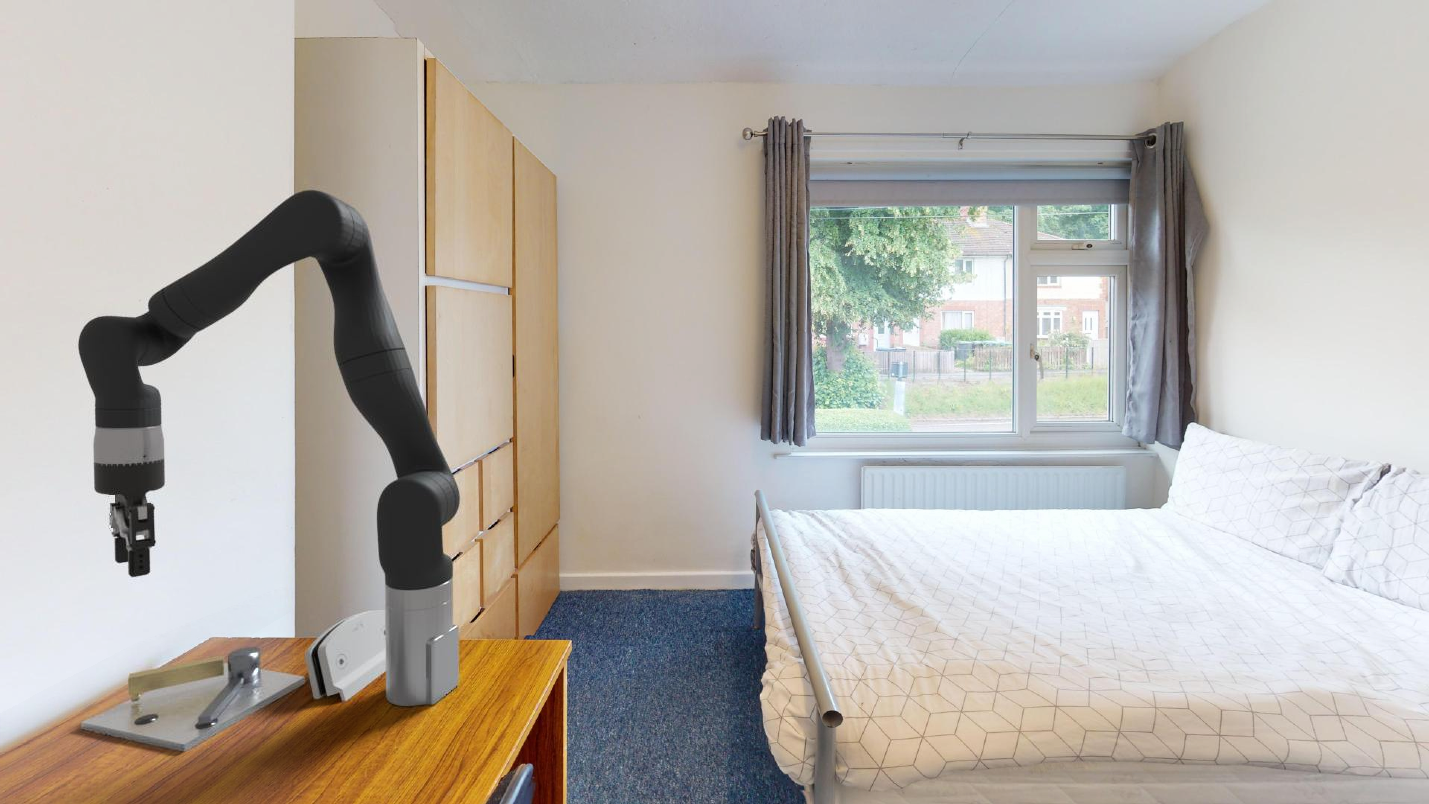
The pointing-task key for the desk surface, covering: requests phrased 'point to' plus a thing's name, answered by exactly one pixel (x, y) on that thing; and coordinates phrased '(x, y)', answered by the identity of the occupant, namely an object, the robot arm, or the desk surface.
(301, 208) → the robot arm
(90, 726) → the mounting plate
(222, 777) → the desk surface
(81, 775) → the desk surface
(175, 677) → the leg
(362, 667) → the light grey curved piece
